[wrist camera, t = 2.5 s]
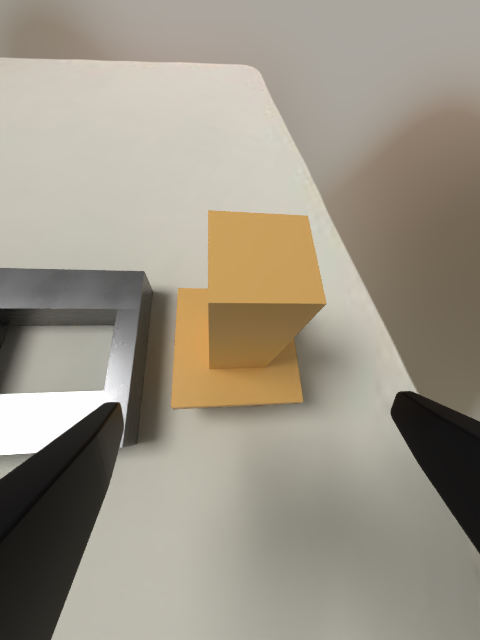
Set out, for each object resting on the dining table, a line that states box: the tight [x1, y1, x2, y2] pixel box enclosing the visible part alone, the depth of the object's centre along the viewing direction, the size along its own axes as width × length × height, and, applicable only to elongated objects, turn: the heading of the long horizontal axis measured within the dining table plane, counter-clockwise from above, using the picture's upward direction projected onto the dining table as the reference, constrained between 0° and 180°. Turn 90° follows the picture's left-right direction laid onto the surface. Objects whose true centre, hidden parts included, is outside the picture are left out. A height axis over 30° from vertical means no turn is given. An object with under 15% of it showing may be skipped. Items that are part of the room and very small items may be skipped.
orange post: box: [171, 210, 326, 409], centre depth 14 cm, size 8×8×13 cm
